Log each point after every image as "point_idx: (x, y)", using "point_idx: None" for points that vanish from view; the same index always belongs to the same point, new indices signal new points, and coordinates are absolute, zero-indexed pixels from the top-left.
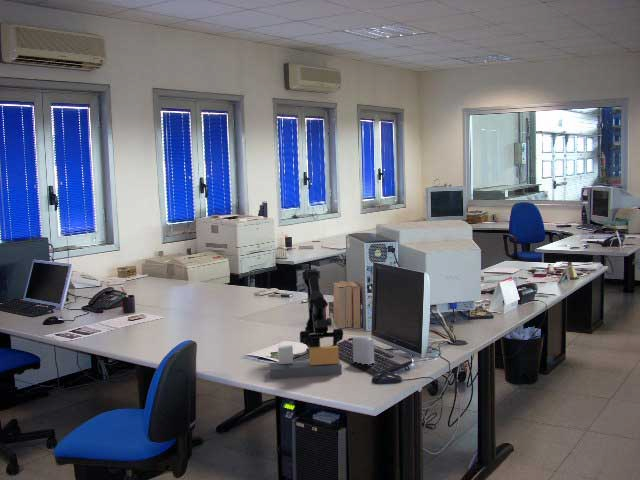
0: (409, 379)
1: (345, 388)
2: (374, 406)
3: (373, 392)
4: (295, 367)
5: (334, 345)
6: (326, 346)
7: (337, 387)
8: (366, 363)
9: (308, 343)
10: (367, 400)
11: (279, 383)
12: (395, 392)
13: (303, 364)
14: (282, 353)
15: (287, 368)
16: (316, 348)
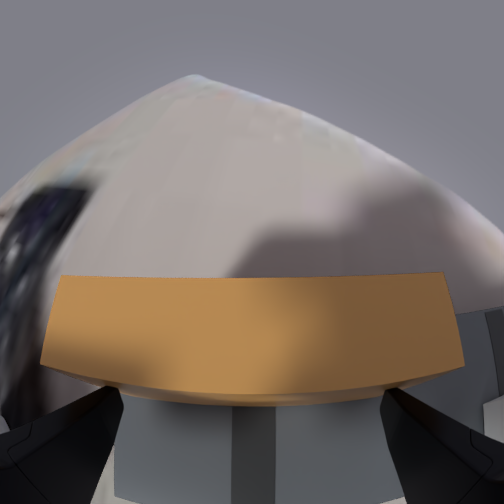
0: (3, 213)
1: (203, 155)
2: (181, 80)
3: (137, 128)
4: (461, 324)
5: (63, 416)
6: (189, 371)
7: (229, 166)
8: (5, 429)
9: (497, 443)
10: (180, 96)
11: (471, 254)
12: (92, 131)
13: (421, 394)
14: None
15: (492, 308)
16: (368, 285)
